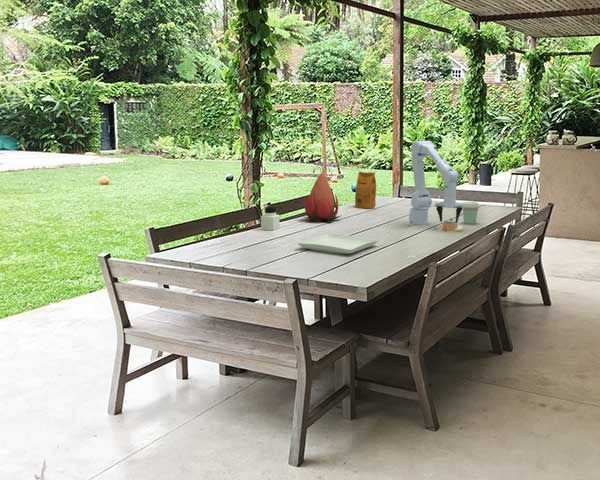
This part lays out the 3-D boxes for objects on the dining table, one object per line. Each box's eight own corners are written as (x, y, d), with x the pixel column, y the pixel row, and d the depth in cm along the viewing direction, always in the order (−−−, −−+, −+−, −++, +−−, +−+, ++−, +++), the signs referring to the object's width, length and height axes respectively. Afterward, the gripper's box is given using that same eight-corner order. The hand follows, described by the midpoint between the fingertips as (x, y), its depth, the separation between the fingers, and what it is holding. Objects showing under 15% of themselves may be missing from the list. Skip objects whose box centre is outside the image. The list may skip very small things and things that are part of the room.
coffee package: (360, 205, 436) (360, 170, 431) (377, 207, 429) (378, 171, 425) (352, 207, 427) (352, 171, 423) (370, 209, 421) (371, 173, 416)
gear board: (435, 232, 348) (436, 223, 347) (441, 226, 364) (442, 218, 363) (458, 234, 344) (458, 225, 343) (463, 227, 360) (463, 219, 359)
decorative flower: (321, 225, 367) (321, 168, 362) (292, 219, 384) (292, 164, 379) (350, 220, 382) (351, 165, 376) (321, 215, 399) (322, 162, 393)
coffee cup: (478, 227, 363) (479, 204, 361) (461, 226, 365) (462, 203, 362) (477, 224, 371) (478, 201, 369) (461, 223, 373) (462, 201, 370)
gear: (443, 228, 354) (443, 219, 354) (445, 225, 360) (445, 217, 359) (456, 228, 352) (456, 220, 351) (458, 226, 358) (458, 218, 357)
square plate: (351, 257, 293) (351, 248, 292) (295, 250, 307) (295, 241, 306) (379, 246, 315) (379, 238, 314) (326, 240, 329) (326, 232, 328)
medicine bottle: (279, 228, 357) (279, 205, 355) (273, 230, 351) (273, 207, 348) (267, 227, 360) (267, 204, 358) (260, 229, 354) (260, 206, 351)
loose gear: (441, 230, 348) (442, 223, 347) (443, 228, 353) (444, 221, 352) (453, 231, 346) (454, 224, 345) (455, 229, 351) (455, 222, 350)
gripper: (433, 195, 345) (432, 222, 348) (463, 196, 340) (462, 224, 343) (436, 193, 352) (435, 220, 354) (465, 194, 346) (464, 221, 349)
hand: (448, 222), depth 349 cm, fingers open, 7 cm apart
